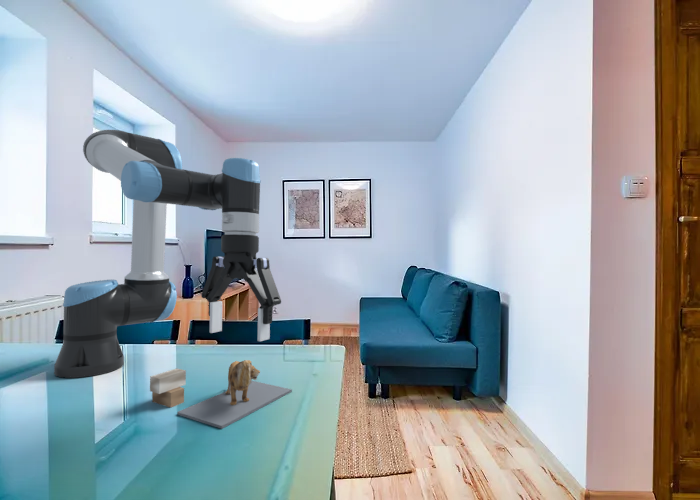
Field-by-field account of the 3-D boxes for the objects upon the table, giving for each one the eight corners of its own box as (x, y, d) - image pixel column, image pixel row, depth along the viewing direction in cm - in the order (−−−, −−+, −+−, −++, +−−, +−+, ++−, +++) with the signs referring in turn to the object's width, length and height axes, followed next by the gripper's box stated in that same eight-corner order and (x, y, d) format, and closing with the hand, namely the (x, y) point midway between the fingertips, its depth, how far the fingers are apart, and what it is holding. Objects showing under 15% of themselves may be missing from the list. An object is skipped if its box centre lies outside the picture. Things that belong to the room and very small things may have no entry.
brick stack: (145, 404, 75) (145, 375, 75) (171, 394, 80) (172, 367, 80) (164, 410, 72) (164, 380, 72) (190, 400, 77) (190, 371, 77)
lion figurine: (261, 406, 73) (262, 360, 73) (235, 412, 70) (235, 365, 70) (239, 384, 85) (240, 345, 85) (216, 388, 82) (216, 348, 82)
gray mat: (177, 414, 70) (177, 411, 70) (251, 382, 87) (251, 380, 87) (221, 428, 64) (221, 426, 64) (291, 391, 82) (291, 389, 82)
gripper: (185, 233, 79) (183, 331, 79) (275, 232, 67) (273, 348, 67) (213, 235, 85) (211, 325, 85) (299, 234, 74) (297, 339, 74)
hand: (238, 335), depth 76 cm, fingers open, 13 cm apart
